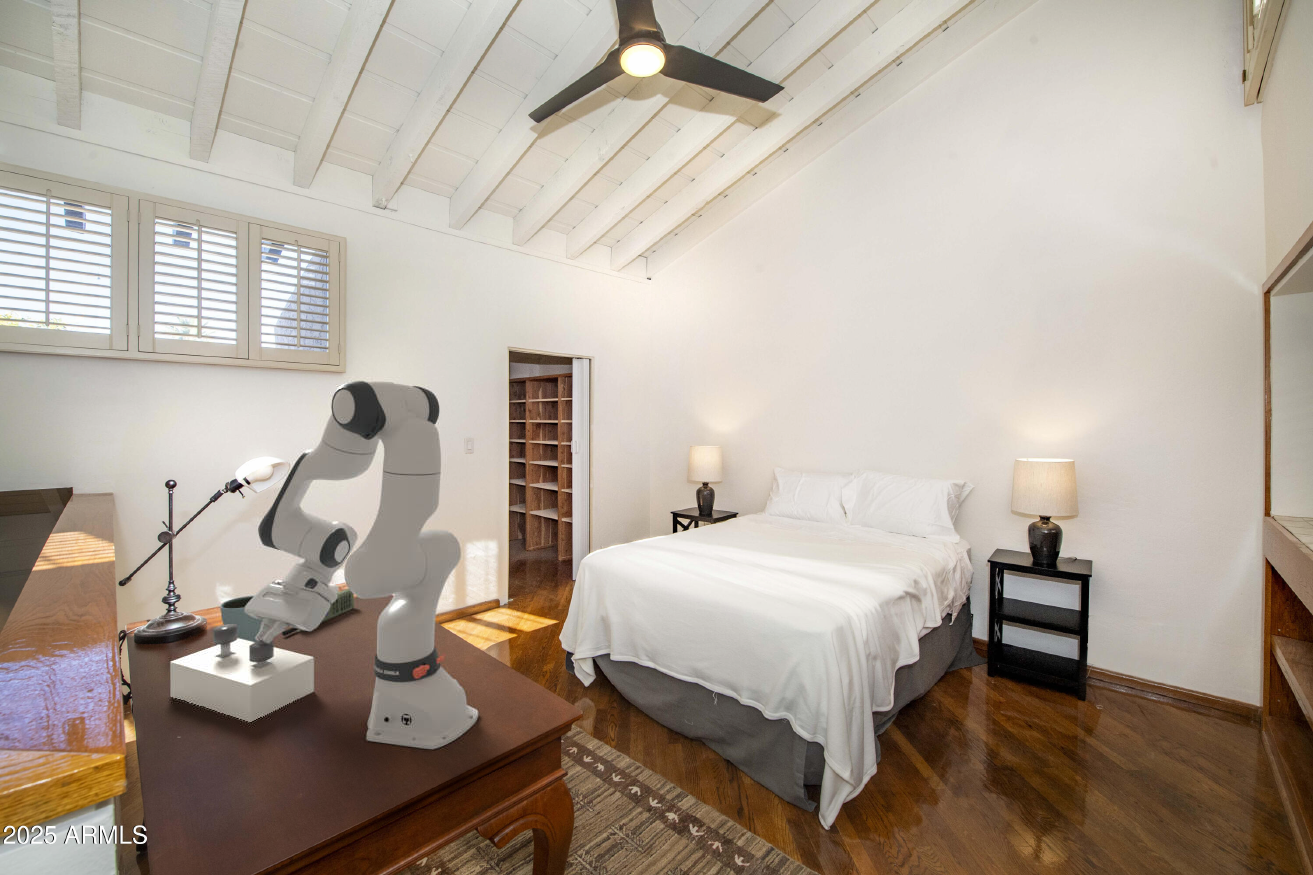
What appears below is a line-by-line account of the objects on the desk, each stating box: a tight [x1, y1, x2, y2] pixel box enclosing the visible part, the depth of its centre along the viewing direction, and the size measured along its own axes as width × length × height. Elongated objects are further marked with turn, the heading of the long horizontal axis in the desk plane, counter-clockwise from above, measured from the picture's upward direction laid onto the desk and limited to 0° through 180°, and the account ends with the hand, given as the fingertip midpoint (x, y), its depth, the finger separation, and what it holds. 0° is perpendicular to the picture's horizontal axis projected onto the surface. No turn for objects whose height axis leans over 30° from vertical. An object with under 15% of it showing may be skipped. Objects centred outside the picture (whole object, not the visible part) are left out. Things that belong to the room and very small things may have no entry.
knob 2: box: [249, 640, 275, 669], centre depth 121 cm, size 4×4×7 cm
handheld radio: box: [281, 587, 355, 637], centre depth 166 cm, size 7×3×25 cm
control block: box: [169, 638, 315, 723], centre depth 123 cm, size 26×14×8 cm, turn 70°
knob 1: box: [212, 624, 238, 658], centre depth 125 cm, size 4×4×7 cm
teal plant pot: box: [219, 595, 263, 642], centre depth 148 cm, size 10×10×12 cm
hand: (261, 641), depth 121 cm, fingers closed, pressing on knob 2
